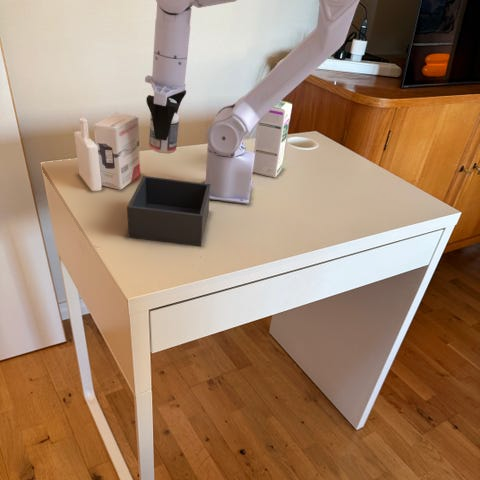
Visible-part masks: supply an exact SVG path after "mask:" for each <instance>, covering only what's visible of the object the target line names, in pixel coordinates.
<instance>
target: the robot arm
mask: <svg viewBox="0 0 480 480" xmlns="http://www.w3.org/2000/svg"><path fill="white" fill-rule="evenodd" d="M237 1H238V0H155V2H156V14H155V15H156V16H155V21H154V39H153V40H154V41H153V55H152V58H153V59H152V74H151V75H146V76H145V77H144V82H145V83H148V84H150V85H151V88H152V90H153V95H151V94H148V95H147V96H146V99H145V101H146V106H147V107H148V110H149V112H150V117H151V116H152V120H153V127H154V134H155V138H156V139H160V140H165V141H166V140H167V138H168V135H169V131H170V127H171V123H172V119H173V116H174V114H175V113H176V114H177V115H178V111H179V109H180V106H181V103H182V101H183V99H184V98H185V96H186V95H187V90H186V73H187V64H188V54H189V43H190V35H191V17H192V8H193V7H196V8H197V9H200V8H201V9H202V8H207V7H212V6H217V5H224V4H227V3H228V4H229V3H234V2H237ZM360 1H361V0H318V2H319V7H318V15H317V21H316V22H317V24H316V27H315V28H314V29H313V30H312V31H311V32H310V33H309V34H308V35H307V36H306V37H304V39H303V40H301V41H300V43H298V44H297V46H295V47H294V48H293V49H292V50H291V51H290V52H289V53H288V54H287V55H286V56H284V58H283V59H282V60H280V61H279V62H278V63H277V64H276V65H275V67H273V68H272V69H271V70H270V71H269V72H268V73H267V74H266V75H264V76H263V78H262V79H261V80H259V82H257V83H256V84H255V85H254V86H253V87H252V88H251V89H250V90H249V91H248V92H247V93H246V94H245V95H243V96H242V97H240V98H239V99H238V100H237V101H235V102H234V103H233V104H229V105H226V106H224V107H222V108H220V109H219V110H218V112H217V114H216V116H215V118H214V120H213V122H212V123H211V124H210V125H209V127H208V129H207V132H206V140H207V141H206V142H207V148H206V151H207V152H206V164H205V165H206V166H205V168H206V169H205V180H204V184H210V199H209V200H213V201H221V202H230V203H237V204H245V205H247V204H249V203H250V196H251V191H253V185H254V181H253V173H254V172H253V165H254V157H255V153H254V151H249V150H246V146H245V143H244V141H243V140H244V138H245V137H246V136H247V135H248V134H249V133H250V132H251V131H252V130H253V129H254V127H255V126H256V124H258V121H259V120H260V119H261V118H262V117H263V116H264V115H265V114H266V113H267V112H269V111H270V110H271V109H272V108H273V107H274V106H275V105H276V104H277V103H279V102H280V101H281V100H282V101H283V100H284V98H285V97H286V96H287V95H289V94H291V92H292V91H293V90H294V89H295V88H297V87H298V86H299V85H300V84H301V83H302V82H304V80H305V79H307V78H308V77H309V76H310V75H312V73H313V72H314V71H315V70H317V69H318V68H319V67H320V66H321V65H322V64H324V62H326V61H327V60H328V59H329V58H330V57H331V56H332V55H334V54H335V53H336V52H337V51H338V50H339V49H341V47H342V46H343V44H345V42H346V38H347V36H348V33H349V30H350V27H351V25H352V21H353V18H354V16H355V14H356V10H357V8H358V5H359V3H360ZM169 98H171V99H173V100H175V101H176V102H177V103H173V102H170V100H169Z"/></svg>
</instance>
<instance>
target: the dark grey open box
mask: <svg viewBox="0 0 480 480" xmlns="http://www.w3.org/2000/svg"><path fill="white" fill-rule="evenodd" d="M204 183H205V182H204ZM204 183H203V182H194V181H188V180H181V179H180V180H179V179H173V178H172V179H171V178H164V177H158V176H157V177H155V176H147V175H142V178H141V180H140V181H139V183H138V185H137V187H136V189H135V190H134V193H133V194H132V197H131V198H130V201H129V202H128V204H127V206H126V214H127V215H126V216H127V217H126V218H127V231H128V238H131V239H140V240H148V241H157V242H164V243H173V244H181V245H188V246H189V245H190V246H196V247H197V246H198V247H201V246H202V243H203V239H204V235H205V231H206V226H207V222H208V216H209V211H210V200H211V199H210V184H204Z"/></svg>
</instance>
